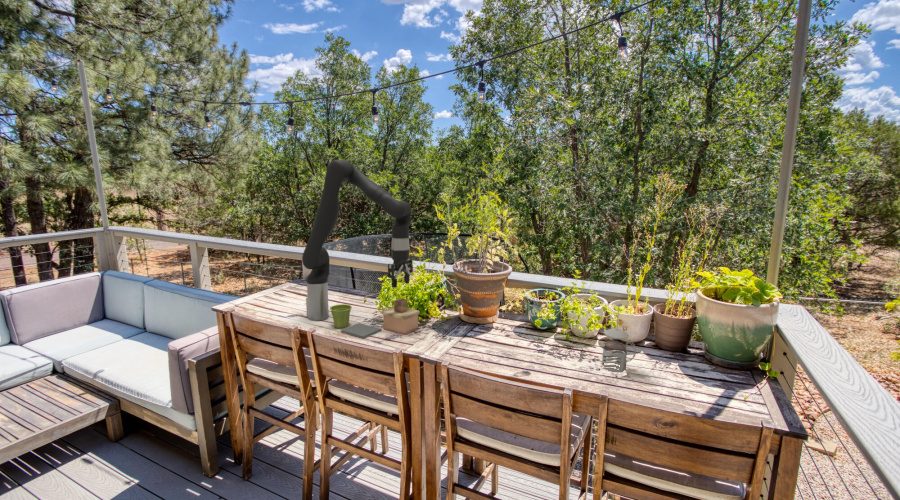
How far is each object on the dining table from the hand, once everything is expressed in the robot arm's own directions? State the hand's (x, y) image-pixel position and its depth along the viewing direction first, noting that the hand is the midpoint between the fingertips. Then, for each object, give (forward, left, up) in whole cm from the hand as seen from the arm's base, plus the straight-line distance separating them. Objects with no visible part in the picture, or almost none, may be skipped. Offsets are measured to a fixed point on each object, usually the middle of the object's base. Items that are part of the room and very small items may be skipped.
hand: (400, 285), depth 181 cm
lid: (0, 0, -13) cm, 13 cm away
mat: (-12, -12, -20) cm, 26 cm away
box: (0, 0, -20) cm, 20 cm away
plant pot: (-24, -12, -20) cm, 33 cm away
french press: (+88, +9, -20) cm, 91 cm away
